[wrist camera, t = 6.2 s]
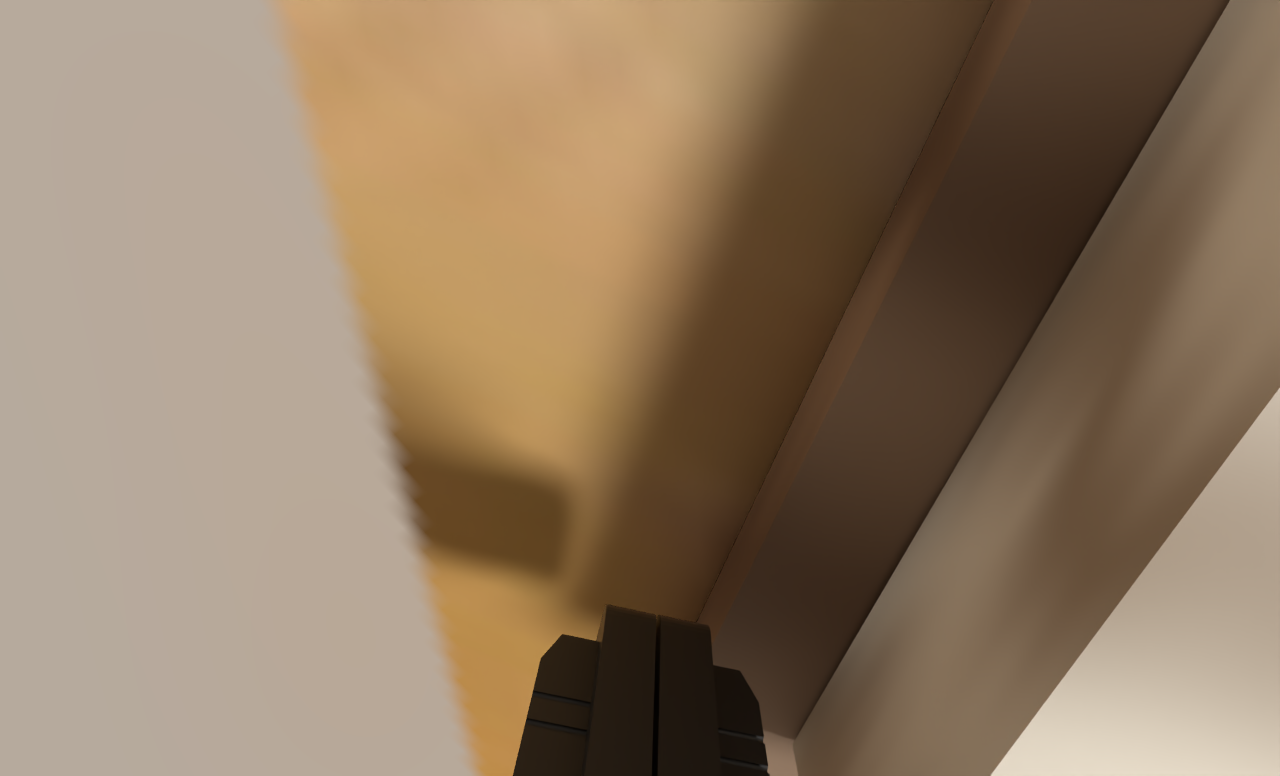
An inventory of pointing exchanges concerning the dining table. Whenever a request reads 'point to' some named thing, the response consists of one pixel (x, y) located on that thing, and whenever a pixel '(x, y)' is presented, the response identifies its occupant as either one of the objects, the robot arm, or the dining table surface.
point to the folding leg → (1110, 493)
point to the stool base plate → (940, 326)
